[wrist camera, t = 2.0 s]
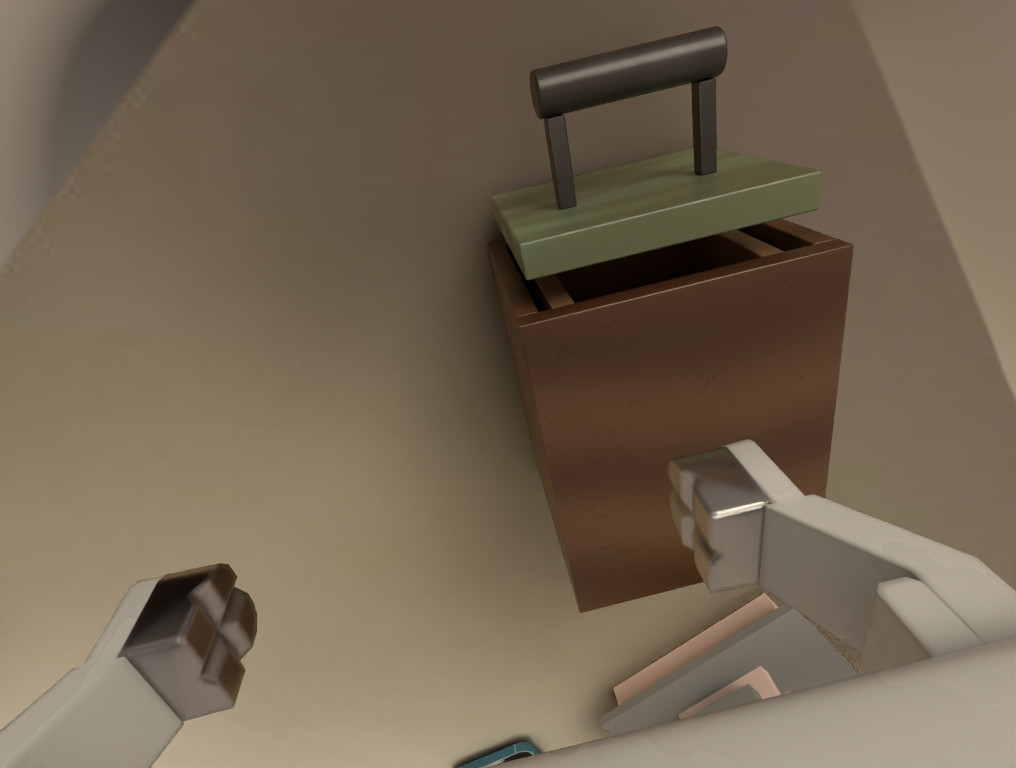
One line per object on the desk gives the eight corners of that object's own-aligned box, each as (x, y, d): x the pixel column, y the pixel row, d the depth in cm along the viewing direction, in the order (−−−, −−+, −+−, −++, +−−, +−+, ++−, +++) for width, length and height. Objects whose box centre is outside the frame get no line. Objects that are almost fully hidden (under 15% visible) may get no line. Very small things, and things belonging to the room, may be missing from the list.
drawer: (466, 84, 21) (486, 82, 14) (698, 29, 21) (836, -2, 14) (541, 429, 30) (577, 540, 22) (707, 388, 30) (798, 484, 22)
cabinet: (486, 243, 25) (518, 326, 16) (706, 190, 25) (854, 244, 17) (538, 469, 32) (580, 613, 23) (711, 425, 32) (819, 553, 23)
